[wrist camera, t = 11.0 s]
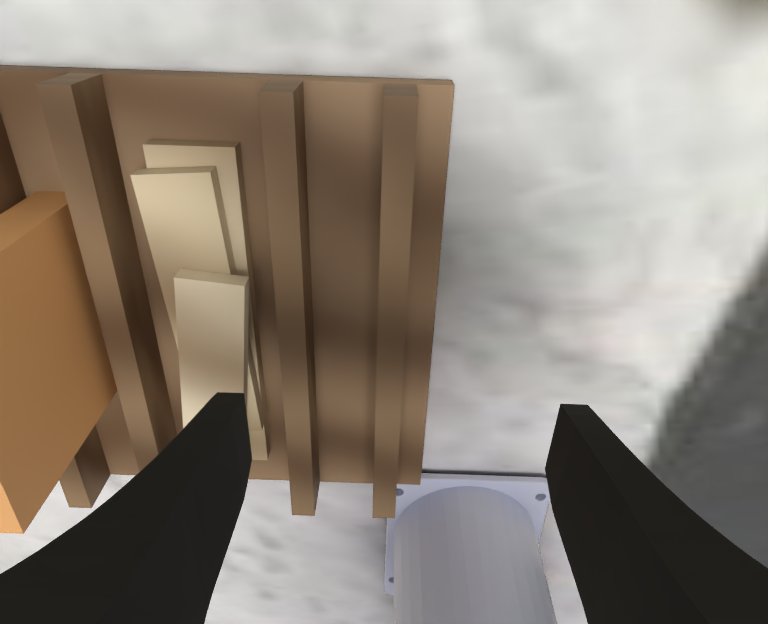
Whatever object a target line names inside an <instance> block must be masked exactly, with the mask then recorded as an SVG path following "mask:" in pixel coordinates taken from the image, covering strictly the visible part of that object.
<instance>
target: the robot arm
mask: <svg viewBox="0 0 768 624" xmlns="http://www.w3.org/2000/svg"><path fill="white" fill-rule="evenodd" d="M251 463H252V453H251V444H250V436H249V428H248V420H247V412H246V404H245V396H244V393H228V392H217V393H216V394H215V395H214V396H213V397H212V398H211V399H210V400H209V401H208V402H207V403H206V404H205V405H204V407H203V408H202V409H201V410H200V411H199V412H198V413H197V414H196V415H195V416H194V418H193V419H192V420H191V421H190V422H189V423H188V424H187V425H186V426H185V427H184V428H183V429H182V430H181V432H180V433H179V434H178V435H177V436H176V437H175V438H174V439H173V440H172V441H171V442H170V443H169V444H168V445H167V446H166V447H165V448H164V449H163V450H162V451H161V452H160V453H159V454H158V455H157V456H156V457H155V458H154V459H153V460H152V461H151V462H150V463H149V464H148V465H146V466H145V467H144V468H143V469H142V470H141V471H140V472H139V473H138V474H137V475H136V476H135V477H134V478H132V479H131V480H130V481H129V482H128V483H127V484H126V485H125V486H124V487H122V488H121V489H120V490H119V491H118V492H117V493H115V494H114V495H113V496H112V497H111V498H110V499H108V500H107V501H106V502H105V503H103V504H102V505H101V506H100V507H98V508H97V509H96V510H95V511H93V512H92V513H91V514H90V515H88V516H87V517H86V518H84V519H83V520H82V521H80V522H79V523H78V524H76V525H75V526H73V527H72V528H70V529H69V530H68V531H66V532H65V533H63V534H62V535H60V536H59V537H57V538H56V539H55V540H53V541H52V542H50V543H49V544H47V545H46V546H44V547H43V548H42V549H40V550H39V551H37V552H35V553H34V554H32V555H31V556H29V557H28V558H26V559H24V560H23V561H21V562H20V563H18V564H16V565H15V566H13V567H12V568H10V569H8V570H6V571H5V572H3V573H1V574H0V624H204V622H205V618H206V614H207V610H208V607H209V603H210V600H211V596H212V593H213V590H214V587H215V584H216V581H217V578H218V575H219V572H220V569H221V566H222V563H223V560H224V557H225V555H226V552H227V549H228V546H229V543H230V540H231V537H232V534H233V531H234V528H235V525H236V522H237V519H238V516H239V513H240V510H241V507H242V504H243V501H244V497H245V492H246V487H247V483H248V478H249V473H250V468H251ZM545 472H546V477H547V478H543V477H520V476H491V475H462V474H433V473H421V482H420V485H408V484H397V489H398V488H399V489H400V490H397V491H396V509H395V518H387V527H386V549H385V571H384V592H385V593H386V594H387V595H390V596H394V624H557V621H556V617H555V613H554V609H553V605H552V601H551V596H550V592H549V588H548V584H547V580H546V576H545V572H544V568H543V564H542V559H541V555H540V551H539V547H538V544H539V540H540V536H541V532H542V528H543V524H544V520H545V517H546V513H547V509H548V505H549V501H550V499H551V504H552V509H553V513H554V516H555V520H556V523H557V526H558V529H559V532H560V536H561V539H562V542H563V545H564V548H565V551H566V554H567V557H568V560H569V564H570V567H571V570H572V573H573V576H574V579H575V582H576V585H577V588H578V591H579V594H580V598H581V601H582V604H583V607H584V611H585V614H586V618H587V622H588V624H768V568H766V567H765V566H763V565H762V564H761V563H759V562H758V561H756V560H755V559H753V558H752V557H751V556H749V555H748V554H747V553H745V552H744V551H743V550H741V549H740V548H738V547H737V546H736V545H734V544H733V543H732V542H731V541H729V540H728V539H727V538H726V537H724V536H723V535H722V534H721V533H719V532H718V531H717V530H716V529H714V528H713V527H712V526H711V525H709V524H708V523H707V522H706V521H704V520H703V519H702V518H701V517H700V516H698V515H697V514H696V513H695V512H694V511H693V510H691V509H690V508H689V507H688V506H687V505H686V504H685V503H684V502H683V501H681V500H680V499H679V498H678V497H677V496H676V495H675V494H674V493H673V492H672V491H671V490H669V489H668V488H667V487H666V486H665V485H664V484H663V483H662V482H661V481H660V480H659V479H658V478H657V477H656V476H655V475H654V474H653V473H652V472H651V471H650V470H649V469H648V468H647V467H646V466H645V465H644V464H643V463H642V462H641V461H640V460H639V459H638V458H637V457H636V456H635V455H634V454H633V453H632V452H631V451H630V450H629V449H628V448H627V447H626V446H625V445H624V444H623V442H622V441H621V440H620V439H619V438H618V437H617V436H616V435H615V434H614V433H613V432H612V431H611V430H610V429H609V427H608V426H607V425H606V424H605V423H604V422H603V421H602V420H601V419H600V418H599V417H598V415H597V414H596V413H595V412H594V411H593V410H592V409H591V408H590V407H589V406H588V405H577V404H560V408H559V413H558V417H557V421H556V425H555V429H554V433H553V438H552V442H551V446H550V450H549V454H548V458H547V463H546V467H545ZM540 493H542V494H540ZM538 494H539V495H538Z"/></svg>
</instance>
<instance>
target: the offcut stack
mask: <svg viewBox="0 0 768 624" xmlns="http://www.w3.org/2000/svg"><path fill="white" fill-rule="evenodd" d="M143 150H144V155H145V161H146V166H147V168H140V169H137V170H136V171H135V172H134V173H132V174H131V175H130V176H131V180H132V183H133V187H134V191H135V194H136V198H137V202H138V205H139V209H140V213H141V216H142V220H143V224H144V227H145V231H146V235H147V238H148V242H149V246H150V249H151V253H152V257H153V260H154V264H155V268H156V271H157V275H158V278H159V282H160V286H161V289H162V293H163V297H164V300H165V304H166V308H167V311H168V315H169V319H170V322H171V326H172V330H173V333H174V337H175V341H176V344H177V348H178V354H179V370H180V386H181V402H182V418H183V428H184V427H185V426H186V425H187V424H188V423H189V422H190V421H191V420H192V419H193V418H194V416H195V415H196V414H197V413H198V412H199V411H200V410H201V409H202V408H203V407H204V405H205V404H206V403H207V402H208V401H209V400H210V399H211V398H212V397H213V396H214V395H215V394H216V393H217V392H228V393H244V396H245V404H246V412H247V420H248V428H249V436H250V444H251V453H252V460H268V457H269V453H270V450H271V448H270V438H269V428H268V418H267V408H266V398H265V388H264V378H263V368H262V358H261V348H260V338H259V328H258V318H257V308H256V298H255V288H254V278H253V268H252V258H251V248H250V238H249V228H248V218H247V208H246V198H245V188H244V178H243V168H242V158H241V148H240V142H229V141H199V140H169V139H150V140H148V141H147V142H145V143H144V144H143Z"/></svg>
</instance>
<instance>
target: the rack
mask: <svg viewBox="0 0 768 624" xmlns="http://www.w3.org/2000/svg"><path fill="white" fill-rule="evenodd" d="M454 86H455V85H454V83H453V81H452V80H433V79H403V78H373V77H343V76H312V75H282V74H252V73H222V72H191V71H161V70H131V69H101V68H70V67H40V66H10V65H0V214H2V213H3V212H5V211H6V210H8V209H10V208H11V207H13V206H14V205H16V204H18V203H19V202H21V201H22V200H24V199H26V198H27V197H29V196H30V195H32V194H34V193H35V192H37V191H59V192H65V195H66V199H67V203H68V206H69V210H70V214H71V218H72V221H73V225H74V229H75V233H76V236H77V240H78V244H79V248H80V251H81V255H82V259H83V263H84V266H85V270H86V274H87V278H88V281H89V285H90V289H91V293H92V296H93V300H94V304H95V308H96V311H97V315H98V319H99V323H100V326H101V330H102V334H103V338H104V341H105V345H106V349H107V352H108V356H109V360H110V364H111V367H112V371H113V375H114V379H115V382H116V386H117V390H118V391H117V392H116V394H115V395H114V397H113V398H112V400H111V402H110V403H109V405H108V406H107V408H106V409H105V411H104V412H103V414H102V415H101V417H100V418H99V420H98V421H97V423H96V424H95V426H94V427H93V429H92V430H91V432H90V433H89V435H88V436H87V438H86V440H85V441H84V443H83V444H82V446H81V447H80V449H79V450H78V452H77V453H76V455H75V456H74V458H73V459H72V461H71V462H70V464H69V465H68V467H67V468H66V470H65V471H64V473H63V474H62V476H61V478H60V479H59V481H60V483H61V486H62V489H63V492H64V494H65V497H66V500H67V502H68V505H69V507H78V508H92V506H93V505H94V503H95V501H96V499H97V497H98V496H99V494H100V492H101V490H102V489H103V487H104V485H105V483H106V482H107V480H108V478H109V476H110V474H119V475H137V474H138V473H139V472H140V471H141V470H142V469H143V468H144V467H145V466H146V465H148V464H149V463H150V462H151V461H152V460H153V459H154V458H155V457H156V456H157V455H158V454H159V453H160V452H161V451H162V450H163V449H164V448H165V447H166V446H167V445H168V444H169V443H170V442H171V441H172V440H173V439H174V438H175V437H176V436H177V435H178V434H179V433H180V432H181V430H182V429H183V418H182V402H181V386H180V370H179V354H178V348H177V344H176V341H175V337H174V333H173V330H172V326H171V322H170V319H169V315H168V311H167V308H166V304H165V300H164V297H163V293H162V289H161V286H160V282H159V278H158V275H157V271H156V268H155V264H154V260H153V257H152V253H151V249H150V246H149V242H148V238H147V235H146V231H145V227H144V224H143V220H142V216H141V213H140V209H139V205H138V202H137V198H136V194H135V191H134V187H133V183H132V180H131V176H130V175H131V174H132V173H134V172H135V171H136V170H137V169H140V168H147V166H146V161H145V155H144V150H143V144H144V143H145V142H147V141H148V140H150V139H169V140H199V141H229V142H240V148H241V158H242V168H243V178H244V188H245V198H246V208H247V218H248V228H249V238H250V248H251V258H252V268H253V278H254V288H255V298H256V308H257V318H258V328H259V338H260V348H261V358H262V368H263V378H264V388H265V398H266V408H267V418H268V428H269V438H270V448H271V450H270V453H269V457H268V460H252V463H251V468H250V473H249V478H248V479H263V480H290V493H291V505H292V515H309V516H315V510H316V503H317V496H318V490H319V483H320V481H321V482H350V483H374V485H373V518H395V509H396V491H397V484H408V485H420V482H421V470H422V458H423V447H424V435H425V423H426V412H427V400H428V388H429V377H430V365H431V353H432V342H433V330H434V319H435V307H436V295H437V284H438V272H439V260H440V249H441V237H442V225H443V214H444V202H445V190H446V179H447V167H448V155H449V144H450V132H451V121H452V109H453V97H454Z"/></svg>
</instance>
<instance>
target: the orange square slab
mask: <svg viewBox="0 0 768 624" xmlns="http://www.w3.org/2000/svg"><path fill="white" fill-rule="evenodd" d="M117 391H118V390H117V386H116V382H115V379H114V375H113V371H112V367H111V364H110V360H109V356H108V352H107V349H106V345H105V341H104V338H103V334H102V330H101V326H100V323H99V319H98V315H97V311H96V308H95V304H94V300H93V296H92V293H91V289H90V285H89V281H88V278H87V274H86V270H85V266H84V263H83V259H82V255H81V251H80V248H79V244H78V240H77V236H76V233H75V229H74V225H73V221H72V218H71V214H70V210H69V206H68V203H67V199H66V195H65V192H59V191H37V192H35V193H34V194H32V195H30V196H29V197H27V198H26V199H24V200H22V201H21V202H19V203H18V204H16V205H14V206H13V207H11V208H10V209H8V210H6V211H5V212H3V213H2V214H0V533H19V534H24V532H25V531H26V529H27V528H28V526H29V525H30V523H31V522H32V520H33V519H34V517H35V516H36V514H37V512H38V511H39V509H40V508H41V506H42V505H43V503H44V502H45V500H46V499H47V497H48V496H49V494H50V493H51V491H52V490H53V488H54V487H55V485H56V484H57V482H58V481H59V479H60V478H61V476H62V474H63V473H64V471H65V470H66V468H67V467H68V465H69V464H70V462H71V461H72V459H73V458H74V456H75V455H76V453H77V452H78V450H79V449H80V447H81V446H82V444H83V443H84V441H85V440H86V438H87V436H88V435H89V433H90V432H91V430H92V429H93V427H94V426H95V424H96V423H97V421H98V420H99V418H100V417H101V415H102V414H103V412H104V411H105V409H106V408H107V406H108V405H109V403H110V402H111V400H112V398H113V397H114V395H115V394H116V392H117Z"/></svg>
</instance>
